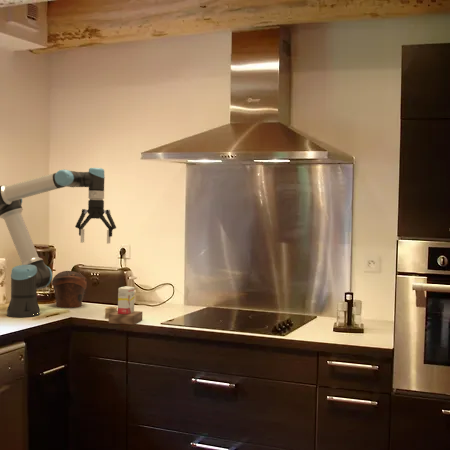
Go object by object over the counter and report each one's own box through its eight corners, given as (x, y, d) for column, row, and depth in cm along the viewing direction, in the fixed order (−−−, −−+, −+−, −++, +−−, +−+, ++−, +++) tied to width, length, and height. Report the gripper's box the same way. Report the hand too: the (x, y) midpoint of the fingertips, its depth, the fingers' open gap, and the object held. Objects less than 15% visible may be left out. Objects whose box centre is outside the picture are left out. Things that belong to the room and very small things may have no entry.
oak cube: (105, 318, 295) (105, 308, 295) (106, 317, 300) (106, 306, 300) (115, 318, 295) (116, 308, 295) (116, 317, 300) (117, 306, 300)
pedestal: (108, 323, 284) (108, 314, 284) (117, 318, 295) (118, 310, 295) (134, 324, 281) (134, 315, 281) (142, 320, 293) (142, 311, 293)
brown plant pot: (69, 309, 317) (70, 274, 316) (43, 306, 327) (43, 271, 327) (95, 306, 331) (96, 272, 331) (68, 302, 342) (69, 270, 342)
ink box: (127, 314, 284) (127, 288, 283) (117, 314, 285) (117, 288, 285) (134, 311, 292) (135, 286, 292) (124, 311, 293) (125, 285, 293)
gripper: (69, 198, 305) (68, 242, 306) (117, 200, 301) (116, 244, 301) (75, 199, 313) (74, 241, 313) (123, 200, 308) (122, 243, 309)
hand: (95, 243), depth 307 cm, fingers open, 13 cm apart
